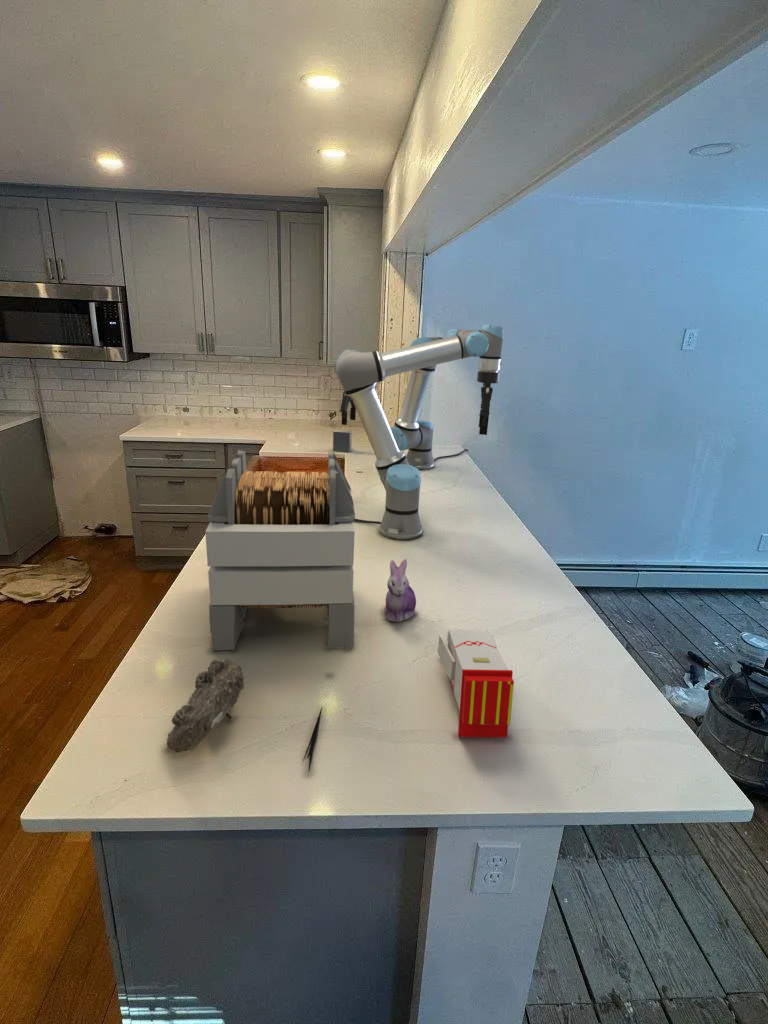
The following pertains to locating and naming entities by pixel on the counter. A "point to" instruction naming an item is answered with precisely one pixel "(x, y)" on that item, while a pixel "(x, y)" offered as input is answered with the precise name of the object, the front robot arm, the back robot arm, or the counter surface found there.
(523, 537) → the counter surface
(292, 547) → the record crate
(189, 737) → the fossil
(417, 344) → the back robot arm
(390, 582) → the figurine
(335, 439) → the brick
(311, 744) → the feather
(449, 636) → the toy
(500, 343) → the front robot arm
